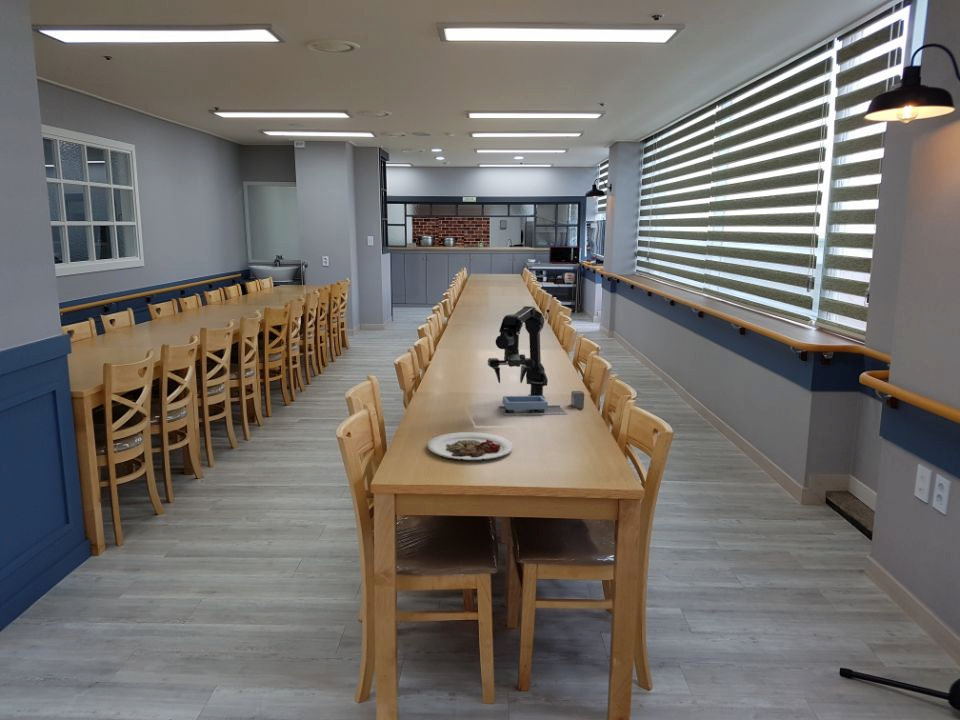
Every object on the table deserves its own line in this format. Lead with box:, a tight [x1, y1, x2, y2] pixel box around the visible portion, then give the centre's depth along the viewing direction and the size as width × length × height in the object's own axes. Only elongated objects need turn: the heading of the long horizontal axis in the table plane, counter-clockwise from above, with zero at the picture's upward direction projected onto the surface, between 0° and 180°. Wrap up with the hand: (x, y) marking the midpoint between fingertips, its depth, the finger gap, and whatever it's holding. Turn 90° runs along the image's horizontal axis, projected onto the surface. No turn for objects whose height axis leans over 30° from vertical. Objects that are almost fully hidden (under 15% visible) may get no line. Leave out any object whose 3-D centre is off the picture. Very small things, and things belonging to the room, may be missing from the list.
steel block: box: [570, 390, 585, 410], centre depth 302 cm, size 4×4×7 cm
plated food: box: [427, 431, 514, 461], centre depth 242 cm, size 30×30×3 cm
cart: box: [502, 395, 548, 413], centre depth 291 cm, size 11×17×5 cm, turn 98°
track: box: [498, 404, 569, 416], centre depth 292 cm, size 13×27×1 cm, turn 98°
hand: (510, 382), depth 287 cm, fingers open, 9 cm apart
